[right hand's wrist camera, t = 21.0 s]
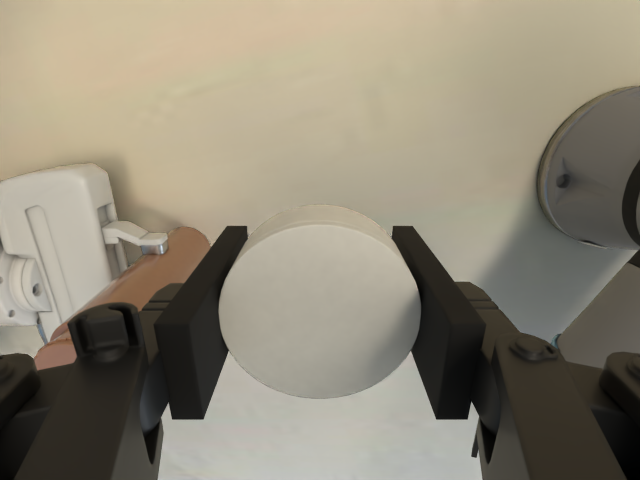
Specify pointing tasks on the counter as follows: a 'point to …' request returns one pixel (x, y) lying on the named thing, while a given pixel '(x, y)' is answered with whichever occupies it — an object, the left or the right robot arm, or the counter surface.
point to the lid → (319, 303)
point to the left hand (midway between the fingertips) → (171, 275)
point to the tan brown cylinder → (133, 288)
